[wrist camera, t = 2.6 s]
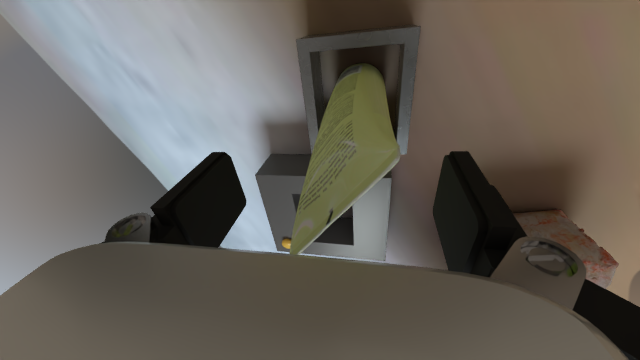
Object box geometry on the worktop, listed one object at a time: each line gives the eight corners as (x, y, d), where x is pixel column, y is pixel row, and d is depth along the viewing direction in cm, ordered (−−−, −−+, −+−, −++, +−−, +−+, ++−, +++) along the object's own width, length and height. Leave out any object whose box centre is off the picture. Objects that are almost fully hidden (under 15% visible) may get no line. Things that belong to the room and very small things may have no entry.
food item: (574, 199, 27) (656, 277, 19) (558, 247, 31) (620, 328, 23) (441, 209, 31) (463, 275, 23) (442, 250, 35) (461, 319, 27)
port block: (389, 154, 28) (391, 180, 24) (384, 233, 35) (385, 263, 31) (270, 154, 32) (253, 176, 27) (287, 226, 39) (276, 253, 34)
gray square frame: (413, 24, 21) (420, 26, 18) (402, 137, 27) (406, 154, 24) (307, 35, 23) (296, 39, 20) (318, 138, 29) (311, 154, 26)
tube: (385, 116, 26) (397, 276, 10) (338, 119, 27) (285, 267, 11) (385, 57, 23) (402, 157, 7) (332, 65, 24) (247, 163, 8)
